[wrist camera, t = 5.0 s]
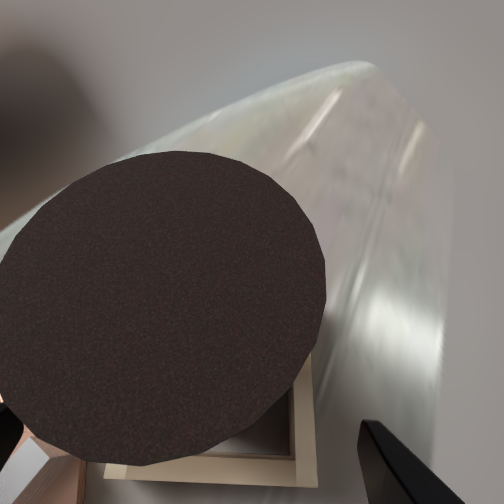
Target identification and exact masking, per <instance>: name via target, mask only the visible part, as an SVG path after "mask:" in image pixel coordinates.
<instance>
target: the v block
mask: <svg viewBox="0 0 504 504" xmlns="http://www.w3.org/2000/svg"><path fill="white" fill-rule="evenodd" d="M1 402H3V400H2V397H1V395H0V403H1ZM85 477H86V461H84V460H82V459H80V458H77V457H75V456H73V455H71V454H69V453H67V452H65V451H63V450H61V449H59V448H57V447H54V446H52V445H50V444H48V443H46V442H44V441H42V440H40V439H38V438H36V437H35V435H34V434H33V433H32V432H31V431H30V430H29V429H28V428H27V427H26V426H25V425H24V432H23V435H22V437H21V439H20V441H19V443H18V444H17V446H16V448H15V449H14V451H13V452H12V454H11V456H10V457H9V459H8V461H7V462H6V464H5V466H4V467H3V469H2V471H1V472H0V504H84V493H85Z"/></svg>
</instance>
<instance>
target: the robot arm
mask: <svg viewBox="0 0 504 504" xmlns="http://www.w3.org/2000/svg"><path fill="white" fill-rule="evenodd" d="M23 432H24V424H23V423H22V422H21V420H20V419H19V418H18V417H17V416H16V415H15V414H14V413H13V412H12V411H11V410H10V409H9V408H8V407H7V405H6V404H5V403H4V402H1V403H0V472H1V471H2V469H3V467H4V466H5V464H6V462H7V461H8V459H9V457H10V456H11V454H12V452H13V451H14V449H15V448H16V446H17V444H18V443H19V441H20V439H21V437H22V435H23ZM357 450H358V456H359V461H360V465H361V470H362V474H363V479H364V483H365V488H366V492H367V497H368V501H369V504H465V503H464V502H463V501H462V500H461V499H460V498H459V497H458V496H457V495H456V494H455V493H454V492H453V491H452V490H451V489H450V488H449V487H448V486H446V484H444V483H443V482H442V481H441V480H440V479H439V478H438V477H437V476H436V475H435V474H434V473H433V472H432V471H431V470H430V469H429V468H428V467H427V466H426V465H425V464H424V463H423V462H422V461H421V460H420V459H419V458H417V457H416V456H415V455H414V454H413V453H412V452H411V451H410V450H409V449H408V448H407V447H406V446H405V445H404V444H403V443H402V442H401V441H400V440H399V439H398V438H397V437H396V436H395V435H394V434H393V433H392V432H390V431H389V430H388V429H387V428H386V427H385V426H384V425H383V424H382V423H381V422H380V421H378V420H368V419H364V420H362V422H361V425H360V431H359V437H358V443H357Z"/></svg>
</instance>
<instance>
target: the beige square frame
mask: <svg viewBox="0 0 504 504" xmlns="http://www.w3.org/2000/svg"><path fill="white" fill-rule="evenodd" d="M288 403H289V451H290V455H272V454H249V453H226V452H203V453H201V454H198V455H193V456H189V457H184V458H179V459H175V460H170V461H166V462H161V463H156V464H152V465H147V466H143V467H140V466H130V465H120V464H110V463H106V468H105V472H104V477H103V478H104V479H127V480H150V481H173V482H196V483H219V484H242V485H265V486H287V487H310V488H318V475H317V457H316V440H315V422H314V405H313V387H312V370H311V352H310V354H309V356H308V358H307V359H306V361H305V363H304V365H303V367H302V368H301V370H300V372H299V374H298V375H297V377H296V379H295V381H294V383H293V384H292V386H291V387H290V388H289V389H288Z"/></svg>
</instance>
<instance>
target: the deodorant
mask: <svg viewBox="0 0 504 504" xmlns="http://www.w3.org/2000/svg"><path fill="white" fill-rule="evenodd" d="M325 304H326V278H325V259H324V256H323V253H322V250H321V248H320V245H319V242H318V239H317V236H316V233H315V230H314V227H313V225H312V223H311V222H310V221H309V219H308V218H307V216H306V215H305V213H304V212H303V210H302V209H301V208H300V206H299V205H298V203H297V202H296V200H295V199H294V197H292V196H291V195H290V194H289V193H288V192H287V191H285V190H284V189H283V188H282V187H281V186H280V185H279V184H277V183H276V182H275V181H274V180H273V179H272V178H270V177H269V176H268V175H266V174H264V173H262V172H260V171H258V170H256V169H254V168H252V167H250V166H248V165H246V164H244V163H242V162H241V161H237V160H233V159H230V158H226V157H222V156H218V155H215V154H211V153H202V152H187V151H169V152H160V153H152V154H143V155H139V156H135V157H132V158H129V159H126V160H122V161H119V162H116V163H112V164H109V165H106V166H104V167H102V168H100V169H98V170H96V171H94V172H92V173H90V174H89V175H87V176H85V177H83V178H81V179H79V180H77V181H75V182H73V183H72V184H70V185H69V186H68V187H67V188H65V189H64V190H63V191H61V192H60V193H59V194H57V195H56V196H55V197H53V198H52V199H51V200H49V201H48V202H47V203H45V204H44V205H43V206H42V207H41V208H40V209H39V210H38V211H37V212H36V214H35V215H34V216H33V217H32V218H31V219H30V220H29V222H28V223H27V224H26V225H25V226H24V227H23V228H22V229H21V231H20V232H19V233H18V234H17V235H16V236H15V238H14V240H13V242H12V243H11V245H10V247H9V249H8V251H7V252H6V254H5V256H4V258H3V260H2V261H1V263H0V395H1V397H2V400H3V402H4V403H5V404H6V405H7V407H8V408H9V409H10V410H11V411H12V412H13V413H14V414H15V415H16V416H17V417H18V418H19V419H20V420H21V422H22V423H23V424H24V425H25V426H26V427H27V428H28V429H29V430H30V431H31V432H32V433H33V434H34V435H35V437H36V438H38V439H40V440H42V441H44V442H46V443H48V444H50V445H52V446H54V447H57V448H59V449H61V450H63V451H65V452H67V453H69V454H71V455H73V456H75V457H77V458H80V459H82V460H84V461H89V462H99V463H110V464H120V465H130V466H140V467H143V466H147V465H152V464H156V463H161V462H166V461H170V460H175V459H179V458H184V457H189V456H193V455H198V454H201V453H203V452H205V451H207V450H208V449H210V448H212V447H214V446H216V445H218V444H219V443H221V442H223V441H225V440H227V439H228V438H230V437H232V436H234V435H236V434H237V433H239V432H241V431H243V430H245V429H246V428H248V427H250V426H252V425H253V424H254V423H255V422H256V421H257V420H258V419H259V418H260V417H261V416H262V415H263V414H264V413H265V412H266V411H267V410H268V409H269V408H270V407H271V406H272V405H273V404H274V403H275V402H276V401H277V400H278V399H279V398H280V397H281V396H282V395H283V394H284V393H285V392H286V391H287V390H288V389H289V388H290V387H291V386H292V384H293V383H294V381H295V379H296V377H297V375H298V374H299V372H300V370H301V368H302V367H303V365H304V363H305V361H306V359H307V358H308V356H309V354H310V352H311V351H312V349H313V347H314V345H315V344H316V340H317V336H318V332H319V328H320V324H321V320H322V316H323V312H324V308H325Z"/></svg>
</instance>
